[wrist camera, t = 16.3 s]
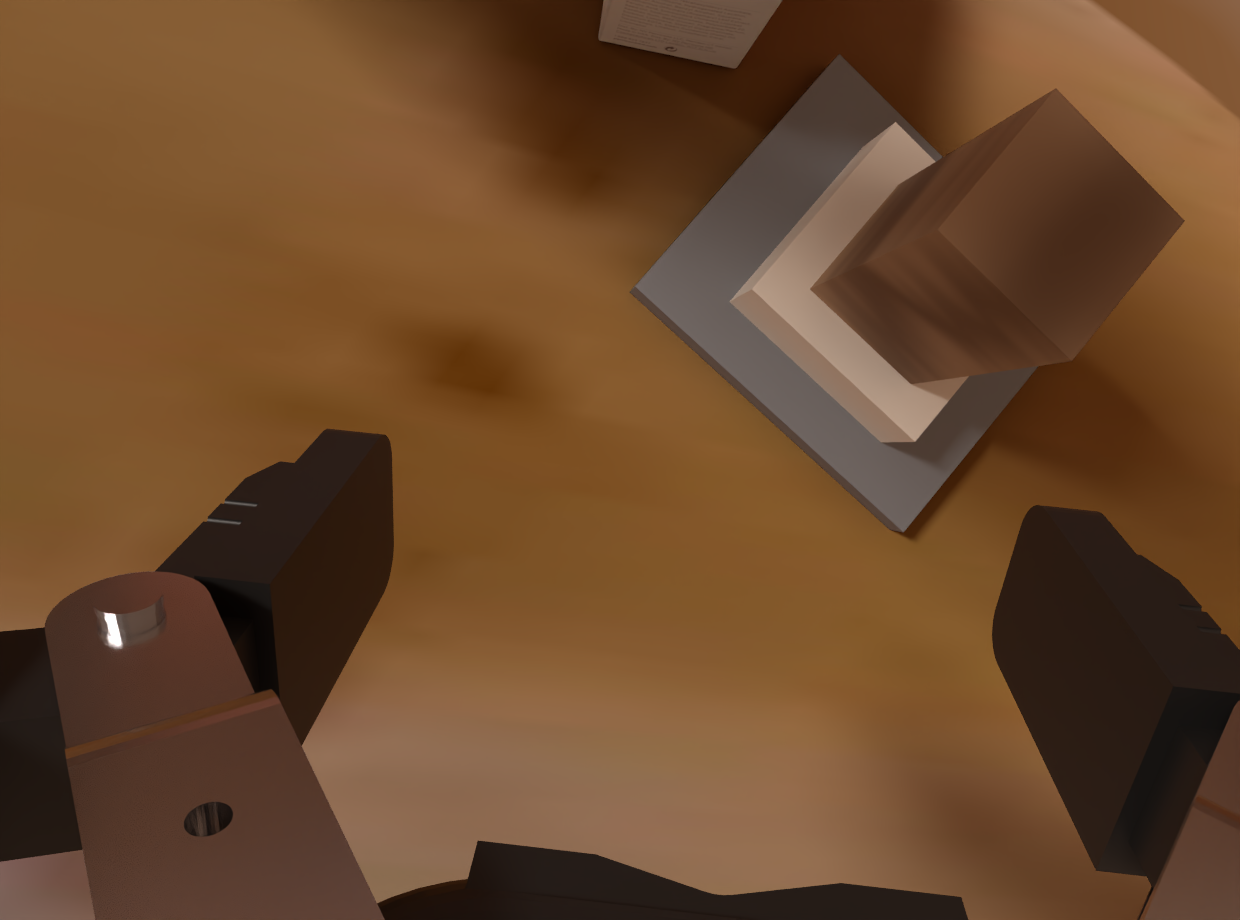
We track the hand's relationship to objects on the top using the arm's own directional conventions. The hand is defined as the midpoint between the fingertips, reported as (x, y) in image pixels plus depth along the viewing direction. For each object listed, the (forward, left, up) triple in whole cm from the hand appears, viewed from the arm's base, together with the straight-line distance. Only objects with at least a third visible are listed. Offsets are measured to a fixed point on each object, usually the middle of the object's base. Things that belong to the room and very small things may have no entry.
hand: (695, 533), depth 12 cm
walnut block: (+5, +13, -20) cm, 24 cm away
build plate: (+5, +13, -24) cm, 28 cm away
